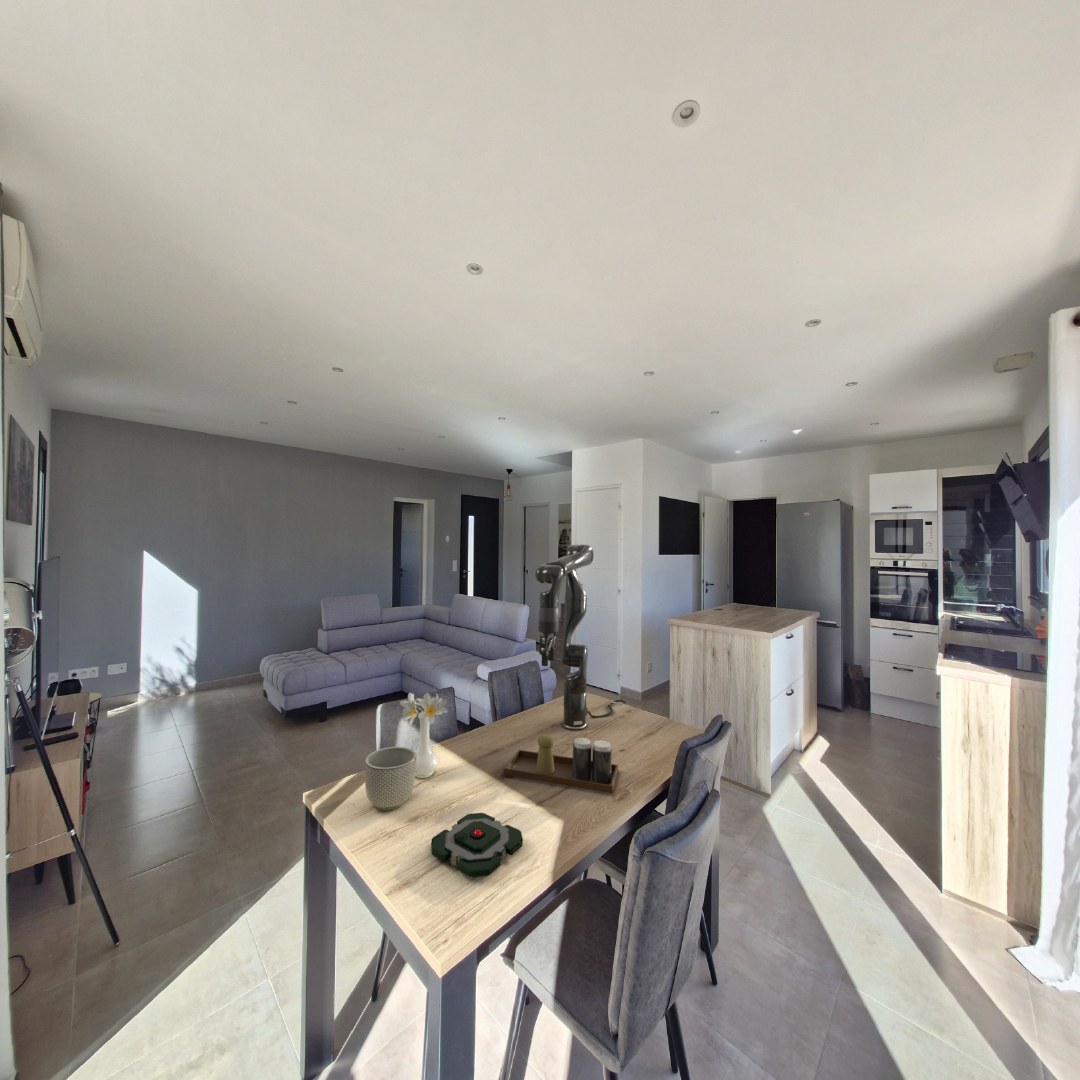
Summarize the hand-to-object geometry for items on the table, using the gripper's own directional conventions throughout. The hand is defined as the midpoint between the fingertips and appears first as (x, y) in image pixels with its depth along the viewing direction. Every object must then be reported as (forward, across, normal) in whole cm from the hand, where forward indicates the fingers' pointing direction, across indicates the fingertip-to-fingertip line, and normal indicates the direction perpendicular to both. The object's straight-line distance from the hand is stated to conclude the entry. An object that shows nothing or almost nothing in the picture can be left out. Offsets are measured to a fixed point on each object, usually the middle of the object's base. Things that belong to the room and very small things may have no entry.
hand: (547, 663), depth 167 cm
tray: (+30, -19, -10) cm, 37 cm away
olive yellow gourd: (+30, -19, -5) cm, 36 cm away
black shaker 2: (+30, -19, -23) cm, 42 cm away
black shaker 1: (+30, -19, -17) cm, 39 cm away
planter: (+30, -51, +31) cm, 67 cm away
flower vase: (+30, -33, +32) cm, 55 cm away
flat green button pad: (+30, -61, 0) cm, 68 cm away
